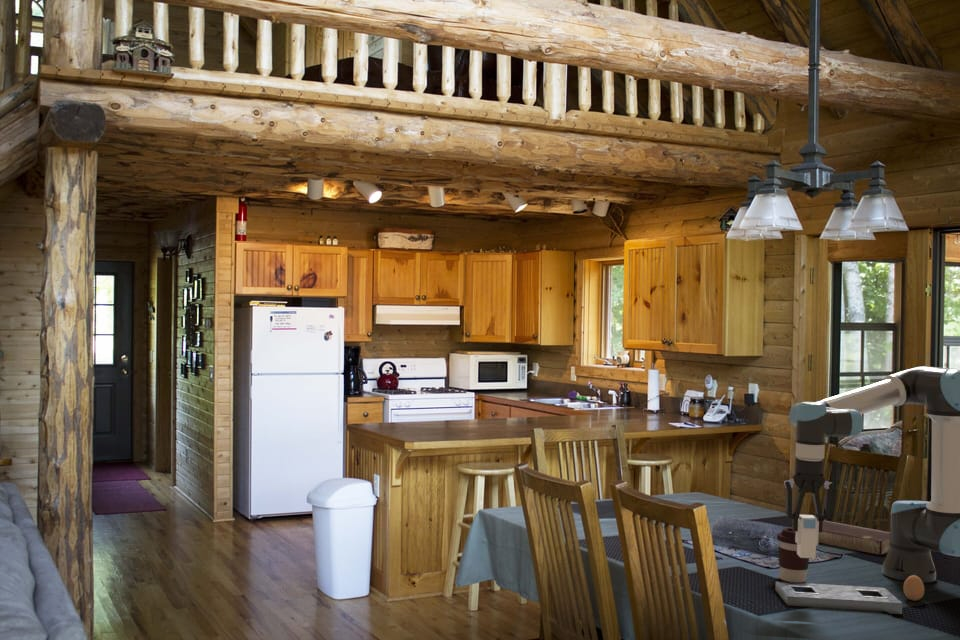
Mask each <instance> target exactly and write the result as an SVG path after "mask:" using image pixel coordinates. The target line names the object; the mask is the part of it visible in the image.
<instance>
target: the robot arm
mask: <svg viewBox="0 0 960 640" xmlns="http://www.w3.org/2000/svg"><path fill="white" fill-rule="evenodd" d="M903 405H921V406H925V414H926V416H927V417H929V419H931V474H930V475H931V481H930V482H931V484H930V485H931V487H930V489H931V491H930V493H931V498H930V501H928V500H926V501H925V500H896V501H893V503H892V504H891V509H890V517H889V518H890V520H889V521H890V522H889V527H890V528H889V532H890V546H889V550H888V552H887V553H886V556H885V558H884V560H883V563H882V567H881V573H882V574H883V575H884V576H886V577H887V578H888V577H889V578H891V579H894V580H899V581H903V582H905V581H906V579H907V578H908V577H909V576H912V575H916V576H918V577H919V578H920V579H921V580H922V582H923V584H925V583H932V582H935V581H936V580H937V571H936V567H935V563H934V561H933V556H932V553H931V552H932V550H933V551H936V552H938V553H941V554H943V555H946V556H952V557H960V369H957V368H950V367H935V366H928V365H927V366H926V365H923V366H916V367H913V368H908V369H905V370H901V371H899V372H898V371H897V372H895V373H892V374H888V375H887V376H885V377H884V378H883V379H882V380H881V381H878V382H875V383H872V384H869V385H866V386H862V387H859V388H855V389H853V390H850V391H847V392H844V393H841V394H837V395H834V396H830V397H827V398H823V399H822V400H821V399H820V400H818V401H802V402H797V403H795V404H793V406H791V408H790V410H789V414H788V415H789V416H788V417H789V421H790V423H791V425H792V426H793V427H795V428H796V432H795V435H796V438H795V457H796V458H795V461H794V474H793V477H792V478H790V479H788V480H786V479H785V480H783V486H784V487H785V515H786V516H787V517H788V518H791V520H792V523H791V524H792V525H791V528H792V529H793V531H796V535H795V542H796V543H797V544H800V542H801V520H800V519H799V515H801V510H802V506H803V502H804V500H805V499H804V498H805V496H806V494H807V493H811V495H812V500H813V504H814V505H813V507H814V510H815V511H814V512H815V517H816V518H817V532H816V546H819V543H818V534H819V532H822V524H823V521H824V520H829V519H830V518H831V508H832V507H831V506H832V494H833V490H834V488H835V483H833V482H832V481H827V480H826V478H825V475H824V474H825V473H824V472H825V461H824V459H825V449H826V446H825V444H826V438H828V437H847V438H849V437H854V436H858V435H860V434H861V432H862V431H863V429H864V418H863V415H864V414H868V413H870V412H873V411H876V410H880V409H882V408H887V407H889V406H893V407H900V406H903ZM794 484H795V486H796V487H797V488H798V489H797V494H796V498H795V499H796V500H795V503H794V507H793V488H794ZM822 487H823V488H824V498H823V509H822V504H821V498H820V496H821V495H820V489H821V488H822Z"/></svg>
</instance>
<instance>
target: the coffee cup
mask: <svg viewBox="0 0 960 640" xmlns="http://www.w3.org/2000/svg"><path fill="white" fill-rule="evenodd" d="M795 535H796V531H793V529H792V527H785V528H783V529H782V531H780V532H778V533H777V534H776V539H777V541H778V566H779V579H781V580H782V581H784V582H794V583H806V581H807V571H808V568H809V564H810V558H800V557H799V556H798V555H797V543H796V542H795Z"/></svg>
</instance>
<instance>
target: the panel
mask: <svg viewBox="0 0 960 640" xmlns="http://www.w3.org/2000/svg"><path fill="white" fill-rule="evenodd" d="M774 590H775V591H776V593H777V594H778V595H779V597H780V598H781V599H782V600H783V602H784V603H785V604H786V606H793V607H794V606H795V607H810V608H828V609H841V610H842V609H844V610H845V609H846V610H861V611H878V612H886V613H888V614H890V615H891V614H892V615H893V614H895V615H902V614H903V602H902V601H901V600H900V599H898V598H897V597H896V596H895V595H894V594H893V593H891V592H890V591H889V590H887V588H885V587H878V586H877V587H876V586H875V587H874V586H859V585H845V584H844V585H843V584H840V585H839V584H826V583H825V584H824V583H809V582H807V583H806V582H789V581H775V589H774Z"/></svg>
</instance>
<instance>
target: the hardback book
mask: <svg viewBox="0 0 960 640" xmlns="http://www.w3.org/2000/svg"><path fill="white" fill-rule="evenodd" d="M818 544H825V545H827V546H828V545H829V546H834V547H838V548H845V549H848V550H854V551H860V552H863V553H868V554H874V555H878V554H879V555H878V556H883V555H885V554H887V553H888V550H889V546H890V531H886V530H885V531H883V530H880V529H876V528H875V529H874V528H870V527H869V528H867V527H865V526H863V527H862V526H858V525H852V524H847V523H843V522H842V523H840V522H836V521H832V520H831V521H830V520H827V519H825V520H824V521H823V524H822V532H819V534H818ZM882 554H883V555H882Z"/></svg>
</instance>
